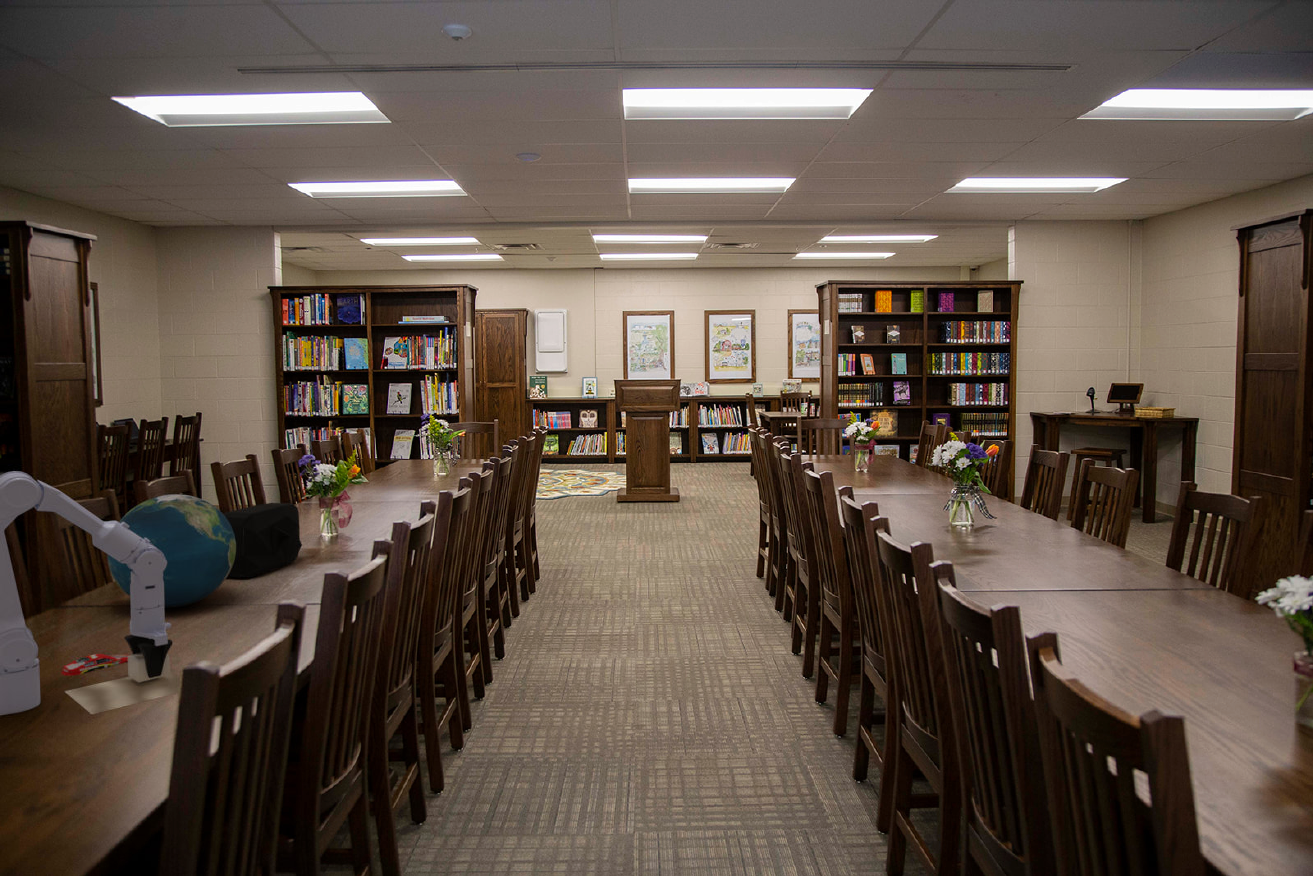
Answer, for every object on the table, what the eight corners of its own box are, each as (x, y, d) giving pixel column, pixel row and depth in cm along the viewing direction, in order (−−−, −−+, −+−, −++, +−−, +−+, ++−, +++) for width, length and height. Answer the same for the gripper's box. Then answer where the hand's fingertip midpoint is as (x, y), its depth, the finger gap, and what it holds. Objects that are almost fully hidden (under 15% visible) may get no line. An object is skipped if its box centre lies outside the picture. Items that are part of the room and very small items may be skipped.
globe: (181, 626, 208) (179, 505, 206) (80, 616, 214) (76, 499, 212) (260, 596, 237) (259, 490, 235) (169, 588, 243) (167, 485, 241)
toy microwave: (138, 682, 164) (138, 661, 164) (128, 675, 167) (127, 654, 167) (169, 675, 168) (169, 654, 168) (159, 668, 172) (158, 648, 171)
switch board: (92, 722, 151) (91, 695, 151) (64, 699, 161) (63, 673, 161) (198, 695, 165) (198, 670, 164) (167, 675, 175) (166, 651, 175)
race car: (127, 662, 183) (127, 644, 183) (139, 668, 180) (139, 649, 179) (57, 679, 172) (57, 660, 172) (69, 685, 169) (68, 666, 169)
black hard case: (275, 559, 284) (275, 500, 282) (309, 561, 282) (308, 502, 280) (215, 580, 254) (214, 514, 252) (252, 582, 252) (251, 516, 251)
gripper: (183, 608, 165) (185, 676, 166) (156, 595, 174) (157, 659, 175) (143, 616, 160) (145, 686, 161) (117, 601, 169) (119, 667, 170)
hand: (149, 672), depth 168 cm, fingers closed on toy microwave, 5 cm apart
